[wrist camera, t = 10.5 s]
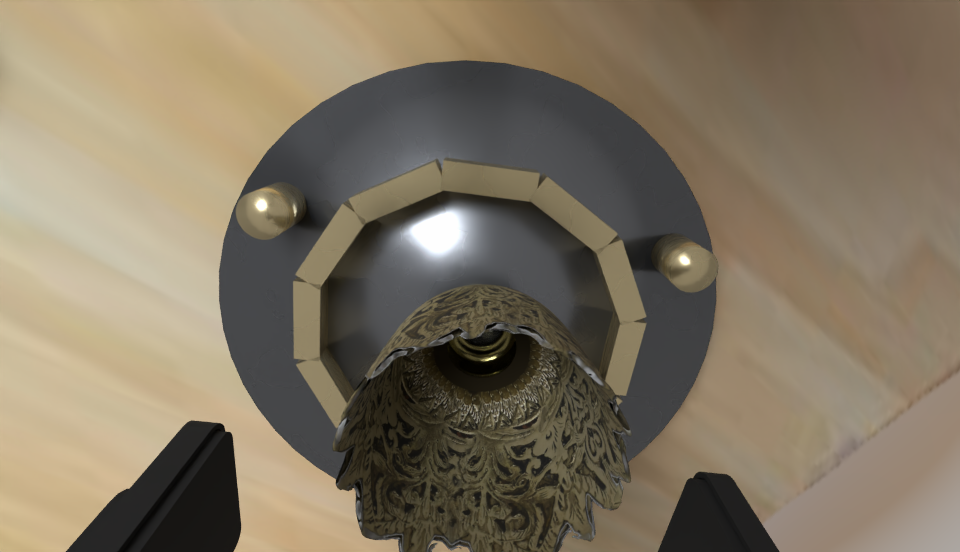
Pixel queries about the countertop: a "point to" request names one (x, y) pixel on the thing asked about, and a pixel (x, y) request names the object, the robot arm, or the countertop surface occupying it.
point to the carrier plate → (462, 240)
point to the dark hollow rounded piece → (482, 430)
